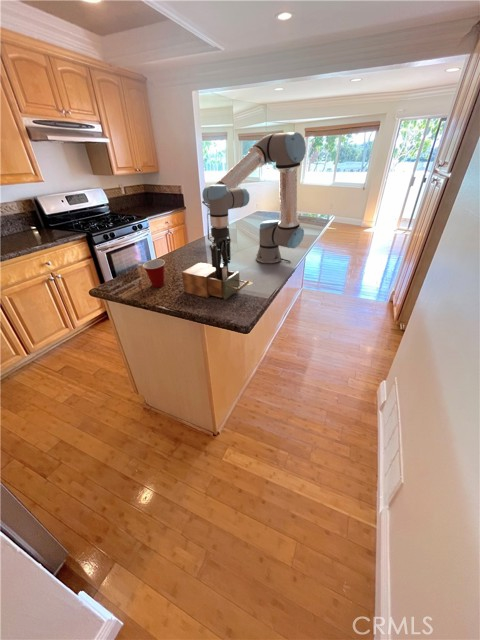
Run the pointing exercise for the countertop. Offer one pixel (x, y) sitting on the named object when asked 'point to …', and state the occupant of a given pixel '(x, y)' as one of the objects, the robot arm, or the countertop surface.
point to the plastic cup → (155, 271)
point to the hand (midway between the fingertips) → (222, 278)
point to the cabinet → (197, 279)
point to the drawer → (224, 285)
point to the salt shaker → (224, 271)
